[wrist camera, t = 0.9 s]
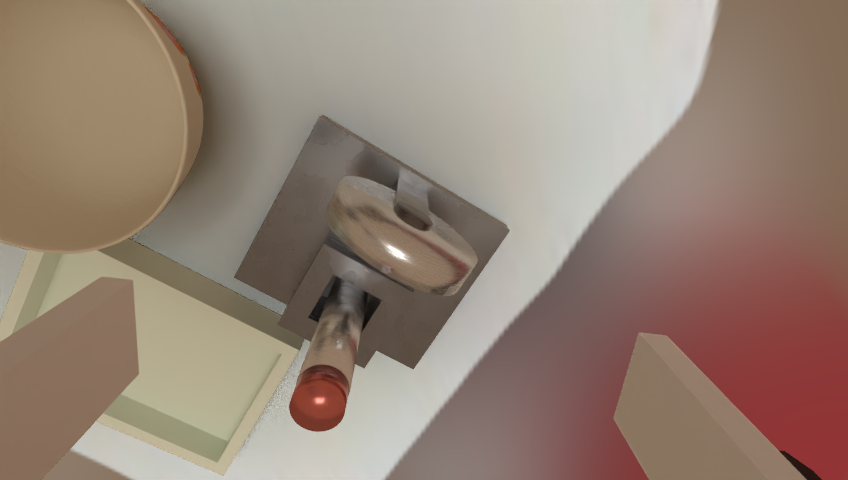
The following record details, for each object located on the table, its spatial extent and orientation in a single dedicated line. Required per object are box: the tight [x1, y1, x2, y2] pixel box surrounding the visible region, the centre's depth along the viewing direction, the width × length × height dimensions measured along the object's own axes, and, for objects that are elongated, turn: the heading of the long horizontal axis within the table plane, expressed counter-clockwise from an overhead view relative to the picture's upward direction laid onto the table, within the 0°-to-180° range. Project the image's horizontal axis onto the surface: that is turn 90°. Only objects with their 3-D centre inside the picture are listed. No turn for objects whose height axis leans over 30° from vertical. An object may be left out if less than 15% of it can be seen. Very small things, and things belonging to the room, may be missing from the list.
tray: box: [0, 239, 304, 476], centre depth 39 cm, size 20×14×3 cm
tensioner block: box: [234, 115, 509, 369], centre depth 32 cm, size 16×14×14 cm
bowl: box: [0, 0, 204, 254], centre depth 30 cm, size 16×16×10 cm
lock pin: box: [289, 276, 368, 431], centre depth 31 cm, size 3×3×15 cm
